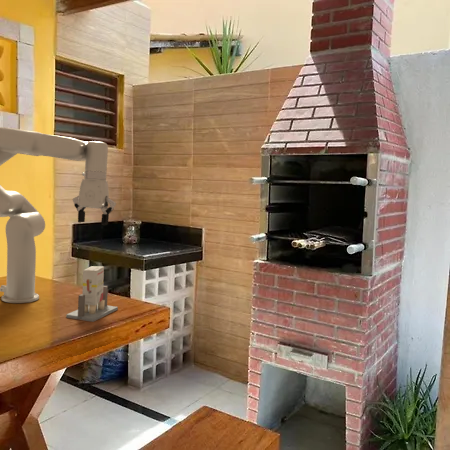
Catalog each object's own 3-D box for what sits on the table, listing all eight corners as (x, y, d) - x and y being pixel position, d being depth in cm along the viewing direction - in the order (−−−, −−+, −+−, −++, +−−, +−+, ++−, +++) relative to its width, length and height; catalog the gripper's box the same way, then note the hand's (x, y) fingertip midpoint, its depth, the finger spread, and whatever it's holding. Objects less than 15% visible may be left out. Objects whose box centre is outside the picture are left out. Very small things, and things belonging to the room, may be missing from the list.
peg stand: (66, 317, 152) (67, 293, 151) (92, 305, 167) (93, 284, 166) (93, 321, 149) (94, 297, 148) (117, 309, 165) (118, 287, 164)
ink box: (89, 298, 162) (90, 265, 161) (103, 299, 162) (104, 266, 161) (81, 304, 154) (82, 269, 153) (95, 305, 153) (97, 270, 152)
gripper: (68, 174, 165) (66, 221, 166) (111, 177, 160) (108, 226, 161) (81, 175, 172) (78, 220, 173) (122, 178, 167) (119, 225, 168)
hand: (92, 223), depth 167 cm, fingers open, 9 cm apart
